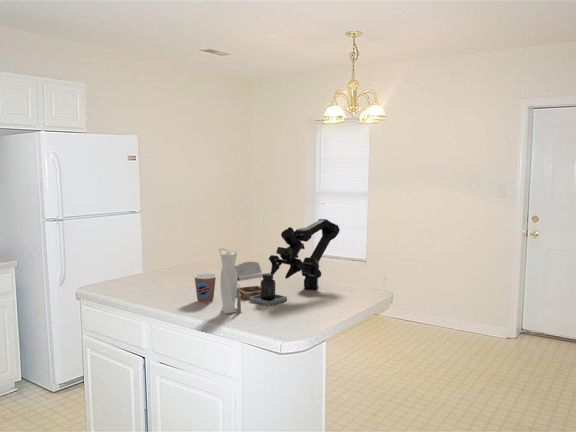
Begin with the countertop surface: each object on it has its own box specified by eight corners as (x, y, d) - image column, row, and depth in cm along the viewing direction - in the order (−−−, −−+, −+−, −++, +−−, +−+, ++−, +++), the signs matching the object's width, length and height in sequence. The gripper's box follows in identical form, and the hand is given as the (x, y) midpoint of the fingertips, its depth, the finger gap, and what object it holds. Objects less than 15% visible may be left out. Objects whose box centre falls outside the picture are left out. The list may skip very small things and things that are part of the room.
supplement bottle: (258, 298, 239) (258, 273, 238) (272, 297, 241) (272, 272, 240) (263, 302, 233) (263, 276, 231) (277, 300, 235) (277, 275, 234)
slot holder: (258, 291, 255) (258, 285, 255) (267, 296, 245) (267, 290, 244) (235, 293, 250) (235, 287, 250) (244, 299, 239) (244, 293, 239)
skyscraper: (222, 315, 214) (222, 250, 211) (217, 310, 221) (216, 247, 219) (241, 313, 217) (241, 248, 215) (236, 308, 225) (235, 246, 222)
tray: (267, 296, 245) (267, 292, 245) (286, 300, 238) (286, 296, 237) (249, 301, 236) (249, 297, 236) (269, 306, 228) (269, 301, 228)
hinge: (239, 280, 280) (236, 262, 281) (235, 281, 283) (231, 264, 285) (264, 276, 290) (260, 259, 292) (259, 277, 294) (256, 261, 295)
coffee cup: (190, 303, 232) (190, 277, 231) (198, 297, 242) (198, 273, 241) (212, 304, 230) (212, 278, 229) (219, 298, 240) (219, 273, 239)
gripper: (271, 238, 250) (255, 264, 242) (300, 242, 238) (285, 269, 230) (281, 252, 256) (266, 277, 249) (311, 256, 244) (296, 283, 237)
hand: (278, 276), depth 241 cm, fingers open, 9 cm apart
